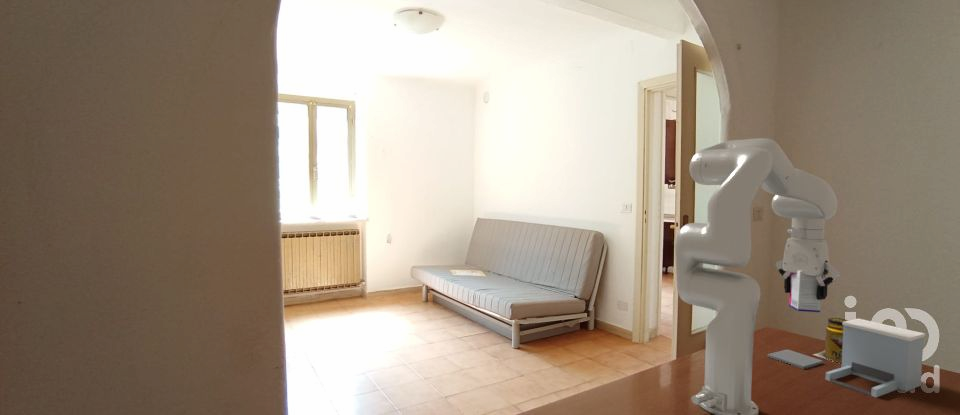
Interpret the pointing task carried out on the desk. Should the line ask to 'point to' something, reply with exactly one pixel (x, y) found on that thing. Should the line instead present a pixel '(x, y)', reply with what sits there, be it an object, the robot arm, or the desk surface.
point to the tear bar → (850, 387)
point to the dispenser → (881, 355)
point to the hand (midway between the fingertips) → (804, 295)
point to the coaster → (795, 358)
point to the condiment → (833, 340)
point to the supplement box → (804, 293)
